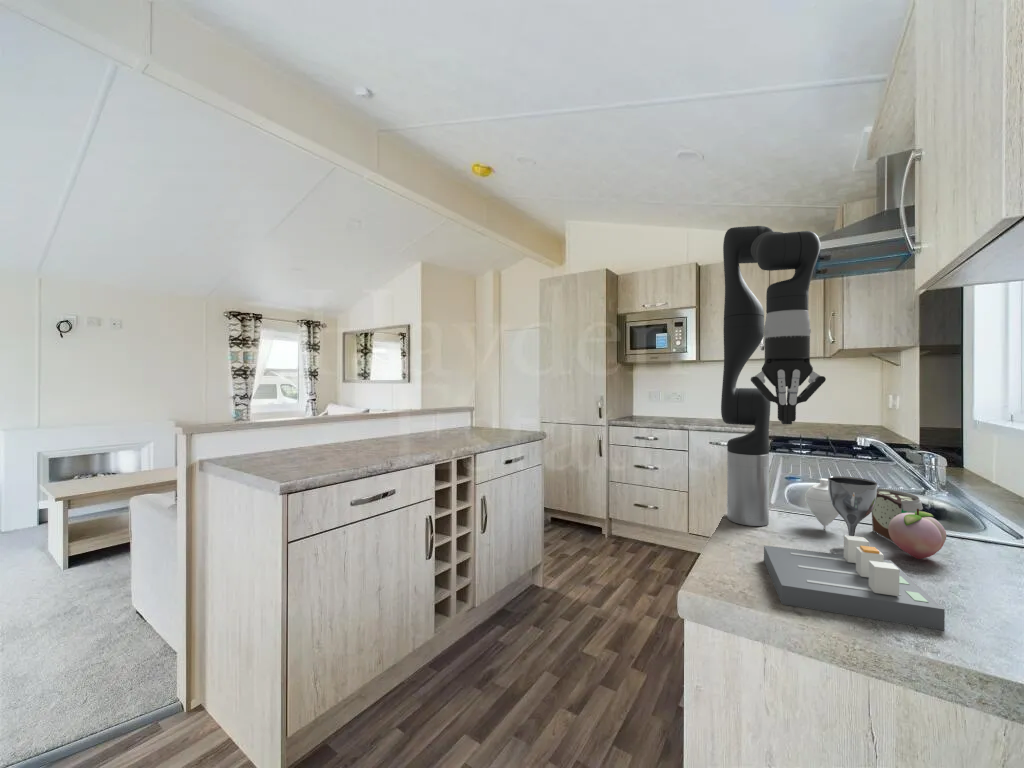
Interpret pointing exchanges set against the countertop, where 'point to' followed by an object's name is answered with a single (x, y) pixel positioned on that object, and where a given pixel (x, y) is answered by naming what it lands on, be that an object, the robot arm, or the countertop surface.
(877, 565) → the breaker
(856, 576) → the grey flat slab
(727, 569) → the countertop surface
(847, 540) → the block
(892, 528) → the decorative fruit
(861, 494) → the wine glass
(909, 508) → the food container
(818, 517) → the spinning top
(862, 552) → the block
